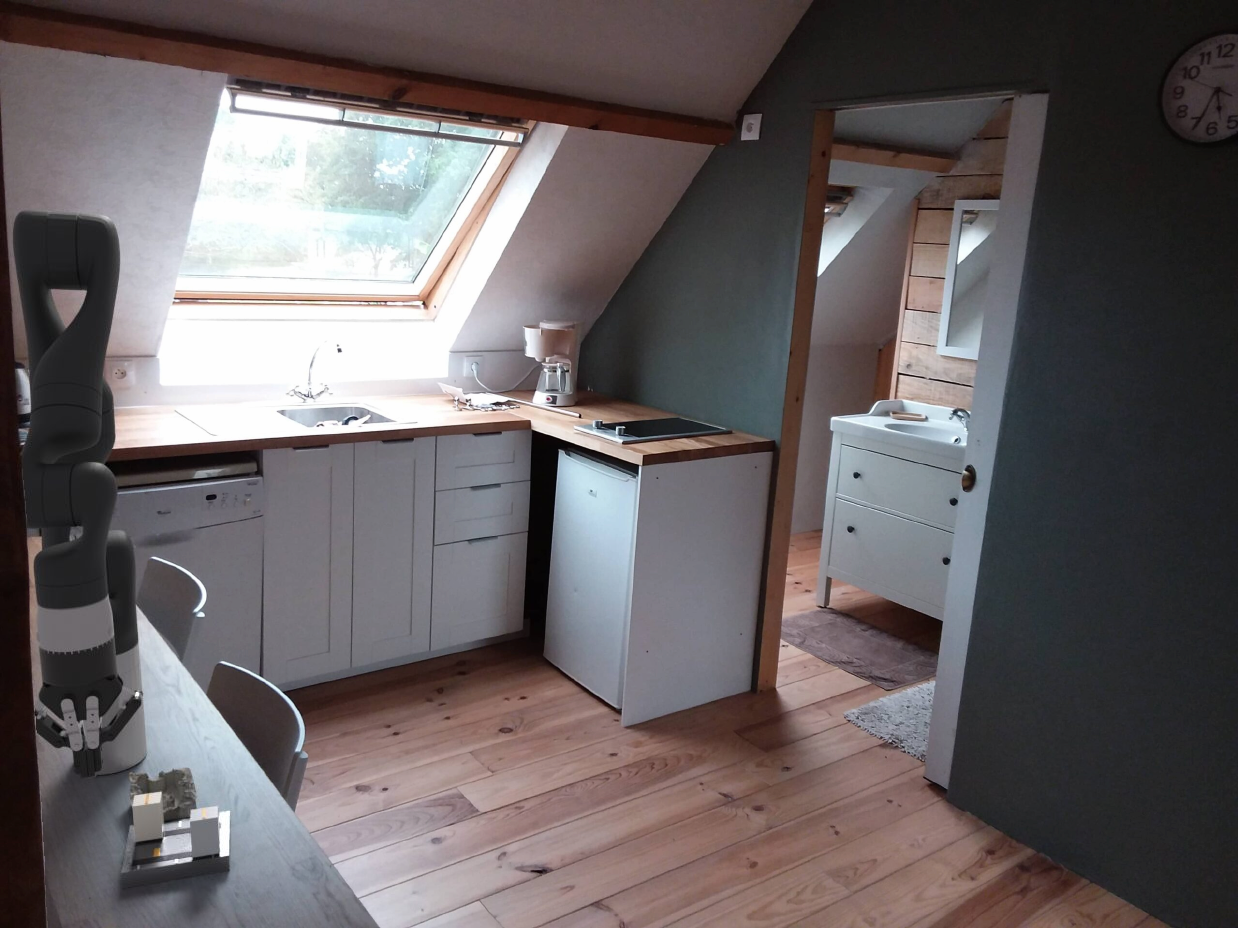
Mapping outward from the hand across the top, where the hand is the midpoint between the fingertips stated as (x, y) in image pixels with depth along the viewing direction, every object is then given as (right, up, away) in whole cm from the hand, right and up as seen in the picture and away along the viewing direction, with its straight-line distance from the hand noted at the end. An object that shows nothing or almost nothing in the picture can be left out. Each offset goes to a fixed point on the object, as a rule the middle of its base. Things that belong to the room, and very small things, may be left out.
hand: (89, 774), depth 116 cm
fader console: (+9, -11, +5) cm, 15 cm away
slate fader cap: (+13, -10, +2) cm, 16 cm away
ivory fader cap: (+5, -9, +4) cm, 11 cm away
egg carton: (+3, -9, +13) cm, 16 cm away
